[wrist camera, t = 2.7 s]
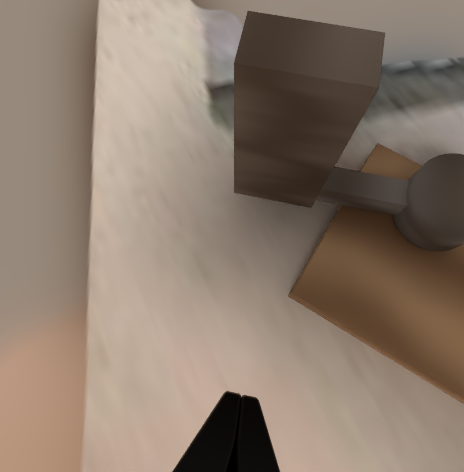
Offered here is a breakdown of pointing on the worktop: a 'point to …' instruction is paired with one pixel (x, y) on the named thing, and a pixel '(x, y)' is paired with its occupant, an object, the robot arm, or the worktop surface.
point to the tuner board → (390, 287)
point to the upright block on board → (328, 128)
